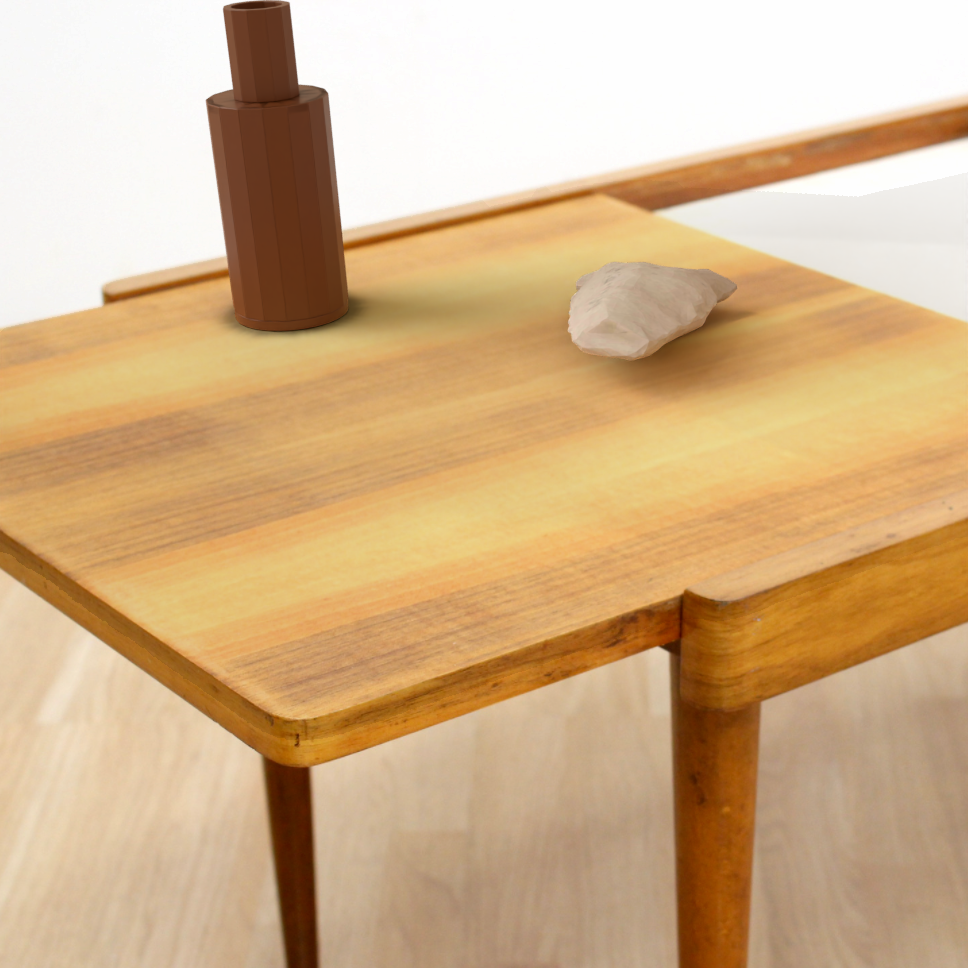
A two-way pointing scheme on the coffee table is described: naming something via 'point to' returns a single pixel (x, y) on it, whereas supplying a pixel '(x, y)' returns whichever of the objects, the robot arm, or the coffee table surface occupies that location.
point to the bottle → (276, 178)
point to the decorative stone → (641, 307)
